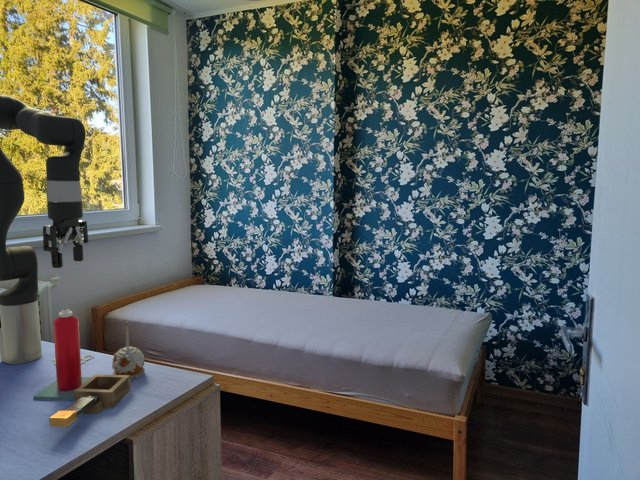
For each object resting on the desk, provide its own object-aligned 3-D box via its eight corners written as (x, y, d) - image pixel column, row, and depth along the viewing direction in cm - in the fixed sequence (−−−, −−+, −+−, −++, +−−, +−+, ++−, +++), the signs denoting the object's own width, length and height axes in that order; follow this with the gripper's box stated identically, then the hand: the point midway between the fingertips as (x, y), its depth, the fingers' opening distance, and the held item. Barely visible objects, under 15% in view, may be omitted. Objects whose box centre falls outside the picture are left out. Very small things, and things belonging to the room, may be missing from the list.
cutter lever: (83, 400, 102) (83, 392, 101) (98, 400, 101) (98, 393, 101) (50, 426, 90) (49, 417, 90) (67, 426, 90) (67, 418, 90)
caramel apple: (106, 378, 118) (103, 324, 116) (130, 367, 125) (128, 316, 123) (127, 384, 115) (124, 328, 113) (150, 372, 122) (148, 320, 120)
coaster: (33, 399, 106) (33, 396, 106) (61, 379, 117) (61, 376, 117) (78, 400, 106) (77, 397, 106) (102, 380, 117) (102, 377, 117)
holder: (68, 412, 100) (67, 396, 100) (95, 389, 112) (94, 374, 111) (107, 414, 100) (106, 397, 100) (130, 390, 112) (130, 375, 111)
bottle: (57, 383, 113) (53, 307, 110) (81, 379, 115) (78, 305, 113) (56, 392, 108) (51, 313, 105) (82, 388, 111) (77, 311, 108)
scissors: (92, 352, 135) (98, 376, 118) (92, 354, 135) (99, 379, 118) (51, 359, 129) (52, 386, 112) (52, 362, 129) (52, 389, 113)
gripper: (67, 197, 116) (71, 258, 118) (29, 200, 102) (34, 269, 104) (95, 198, 115) (98, 259, 118) (61, 201, 101) (65, 270, 104)
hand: (68, 264), depth 111 cm, fingers open, 8 cm apart
